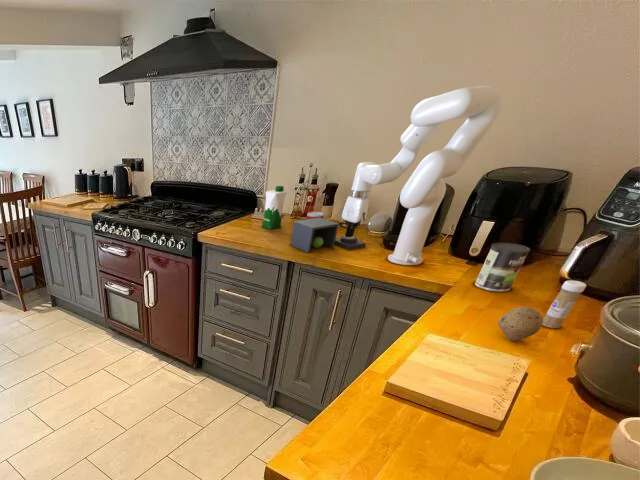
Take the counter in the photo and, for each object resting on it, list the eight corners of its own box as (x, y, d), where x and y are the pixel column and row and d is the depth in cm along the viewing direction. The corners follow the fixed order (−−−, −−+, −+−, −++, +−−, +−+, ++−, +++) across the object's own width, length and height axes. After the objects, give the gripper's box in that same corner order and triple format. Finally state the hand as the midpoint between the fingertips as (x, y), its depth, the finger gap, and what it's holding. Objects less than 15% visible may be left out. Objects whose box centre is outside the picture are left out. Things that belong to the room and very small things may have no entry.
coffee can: (517, 289, 145) (538, 249, 136) (494, 293, 143) (514, 253, 135) (489, 279, 153) (507, 240, 145) (467, 283, 151) (484, 244, 143)
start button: (355, 240, 191) (356, 237, 190) (348, 242, 190) (349, 238, 189) (348, 238, 194) (349, 234, 193) (341, 239, 193) (342, 236, 192)
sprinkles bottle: (536, 322, 125) (560, 280, 117) (550, 321, 125) (575, 279, 117) (550, 329, 121) (576, 286, 113) (564, 328, 121) (591, 285, 114)
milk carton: (283, 227, 223) (289, 187, 212) (270, 230, 220) (276, 189, 208) (271, 223, 230) (277, 184, 218) (259, 226, 226) (264, 187, 215)
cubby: (333, 248, 191) (339, 223, 184) (307, 252, 187) (312, 227, 181) (314, 240, 201) (319, 217, 194) (290, 245, 198) (294, 221, 191)
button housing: (364, 247, 189) (366, 239, 187) (348, 249, 187) (350, 242, 185) (345, 240, 199) (347, 233, 197) (330, 243, 197) (332, 235, 195)
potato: (484, 336, 120) (500, 304, 114) (503, 329, 123) (520, 298, 117) (519, 350, 113) (538, 317, 108) (538, 342, 116) (558, 310, 110)
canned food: (316, 233, 210) (321, 211, 203) (321, 238, 203) (326, 215, 197) (301, 234, 211) (305, 211, 204) (305, 238, 204) (309, 215, 198)
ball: (321, 234, 191) (316, 243, 195) (312, 234, 190) (307, 244, 194) (327, 240, 188) (322, 249, 192) (318, 241, 187) (313, 250, 191)
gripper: (340, 192, 185) (331, 233, 196) (365, 198, 174) (354, 241, 184) (354, 190, 187) (344, 231, 198) (380, 196, 175) (367, 239, 186)
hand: (348, 236), depth 191 cm, fingers closed
